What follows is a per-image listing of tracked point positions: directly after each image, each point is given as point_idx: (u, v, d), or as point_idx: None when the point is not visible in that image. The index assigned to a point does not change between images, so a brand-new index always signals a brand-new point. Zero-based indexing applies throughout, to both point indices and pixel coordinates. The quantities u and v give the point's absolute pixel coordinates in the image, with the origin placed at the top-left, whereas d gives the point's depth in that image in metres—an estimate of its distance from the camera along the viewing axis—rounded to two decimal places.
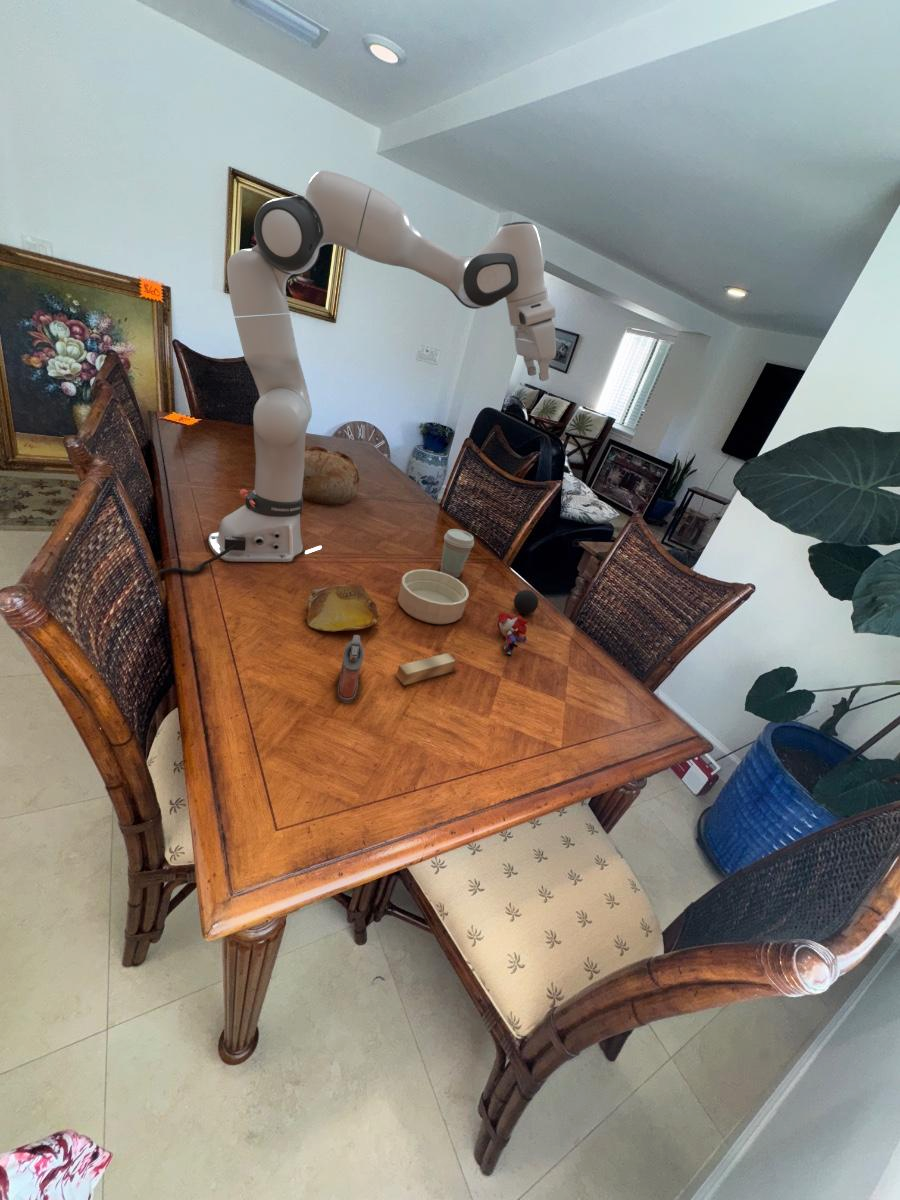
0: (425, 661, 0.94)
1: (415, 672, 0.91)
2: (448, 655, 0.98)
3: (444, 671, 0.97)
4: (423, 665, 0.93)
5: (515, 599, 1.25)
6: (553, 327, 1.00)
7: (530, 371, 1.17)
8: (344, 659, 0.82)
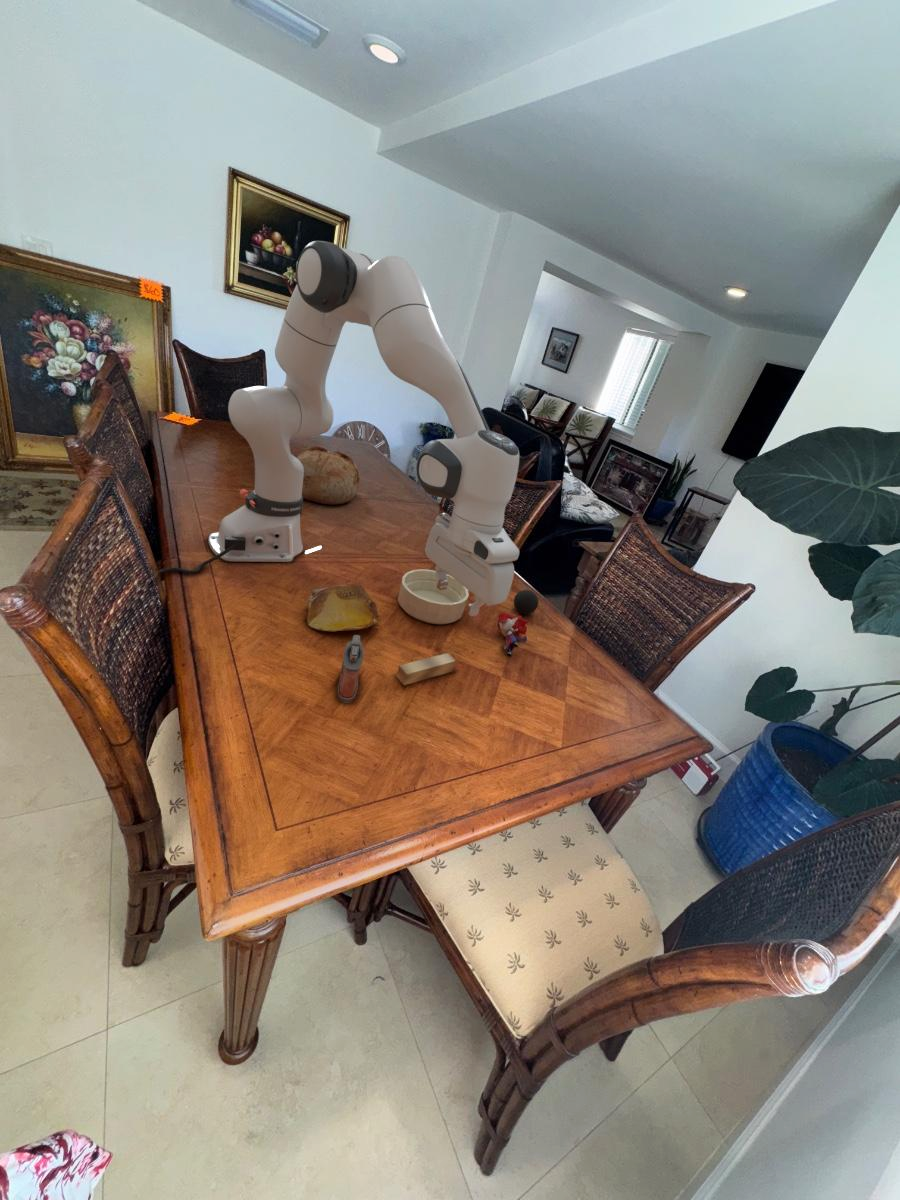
0: (425, 661, 0.94)
1: (415, 672, 0.91)
2: (448, 655, 0.98)
3: (444, 671, 0.97)
4: (423, 665, 0.93)
5: (515, 599, 1.25)
6: (513, 573, 0.79)
7: (442, 585, 0.91)
8: (344, 659, 0.82)
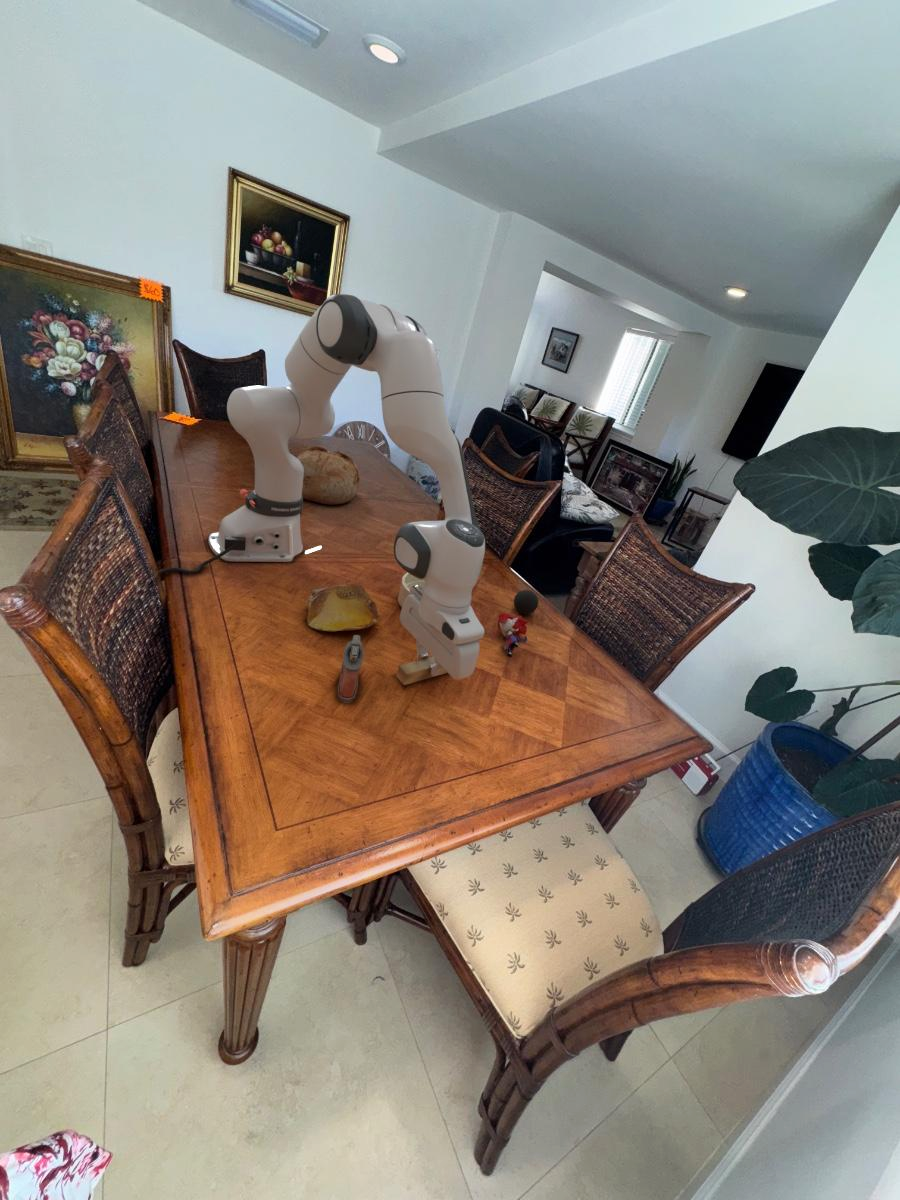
0: (425, 661, 0.94)
1: (415, 672, 0.91)
2: None
3: (444, 671, 0.97)
4: (423, 665, 0.93)
5: (515, 599, 1.25)
6: (478, 650, 0.85)
7: None
8: (344, 659, 0.82)
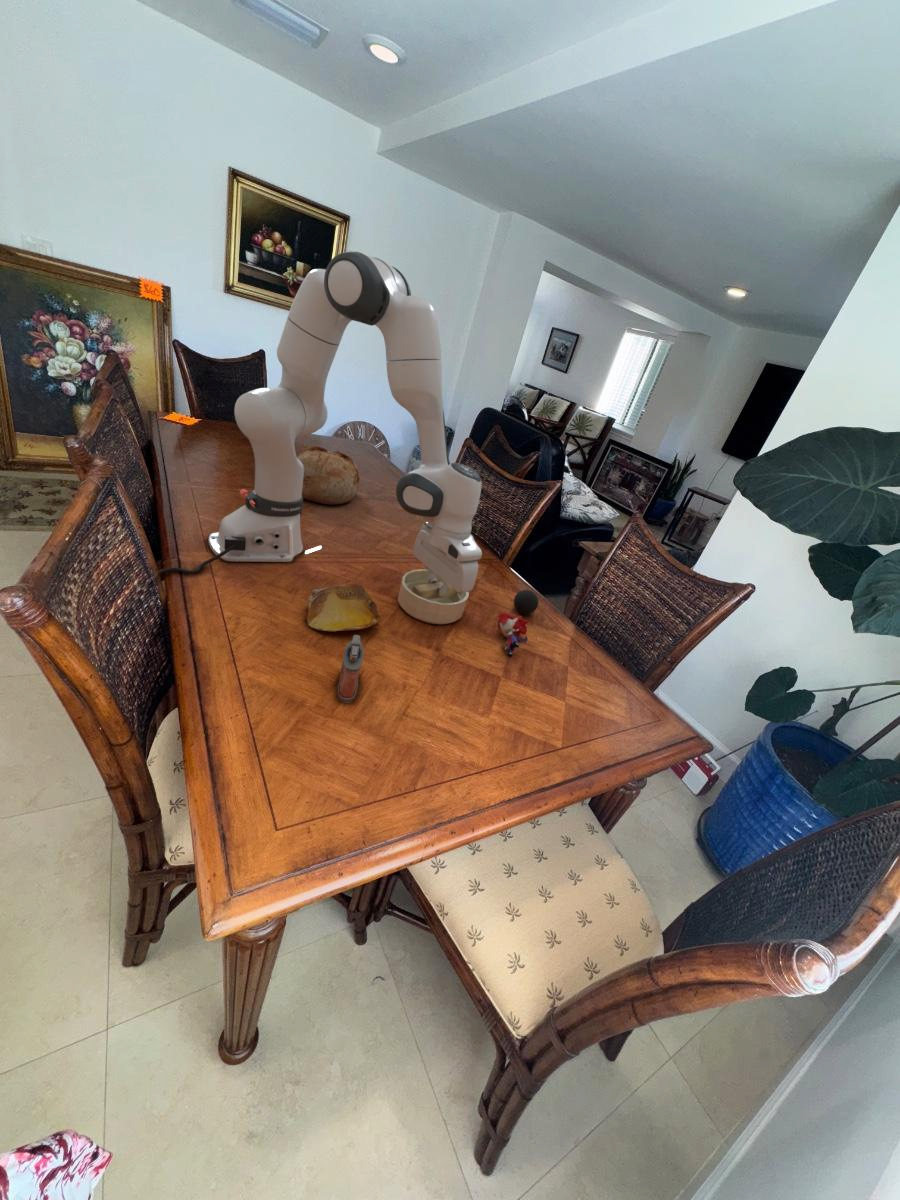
0: (434, 584, 1.16)
1: (426, 591, 1.12)
2: None
3: (450, 594, 1.18)
4: (433, 586, 1.14)
5: (515, 599, 1.25)
6: (477, 568, 1.06)
7: None
8: (344, 659, 0.82)
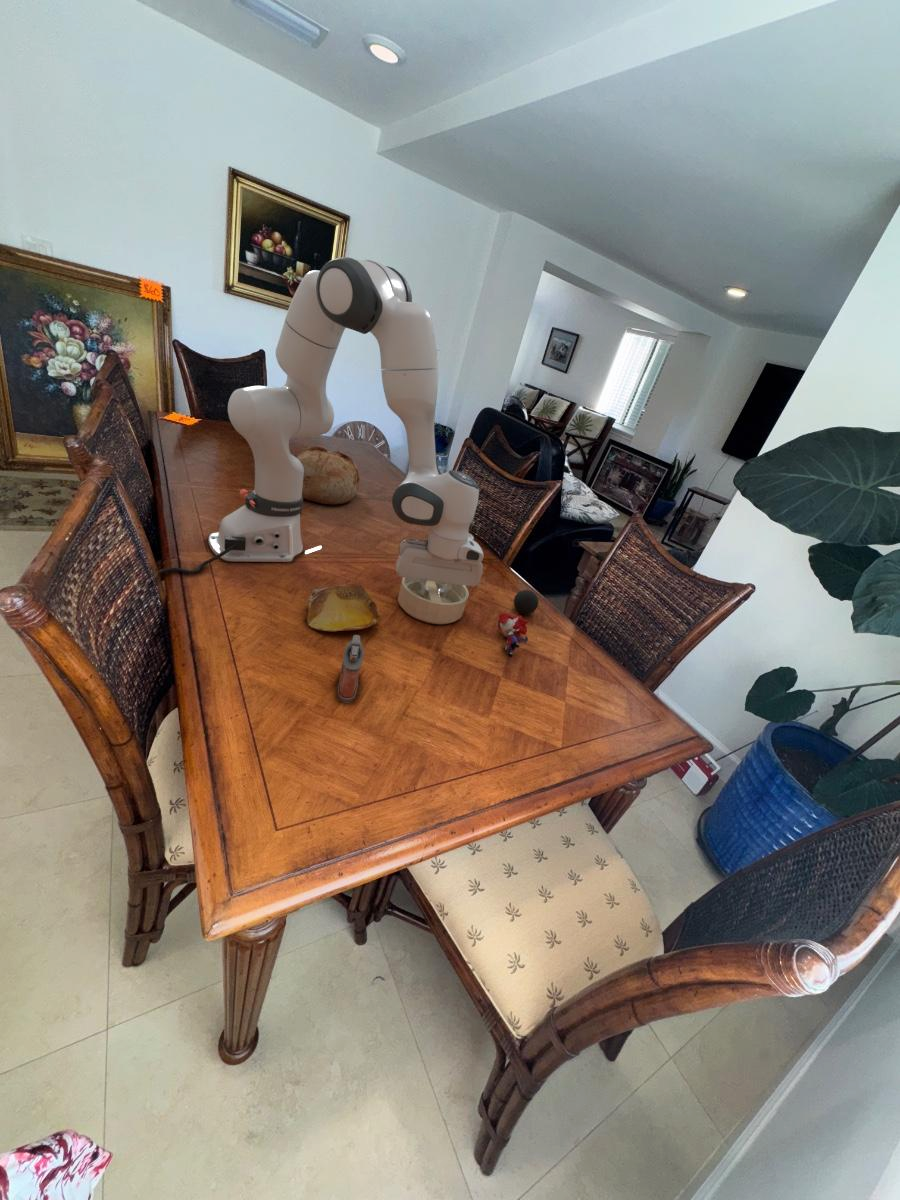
0: (431, 592, 1.15)
1: None
2: None
3: None
4: (435, 594, 1.15)
5: (515, 599, 1.25)
6: None
7: None
8: (344, 659, 0.82)
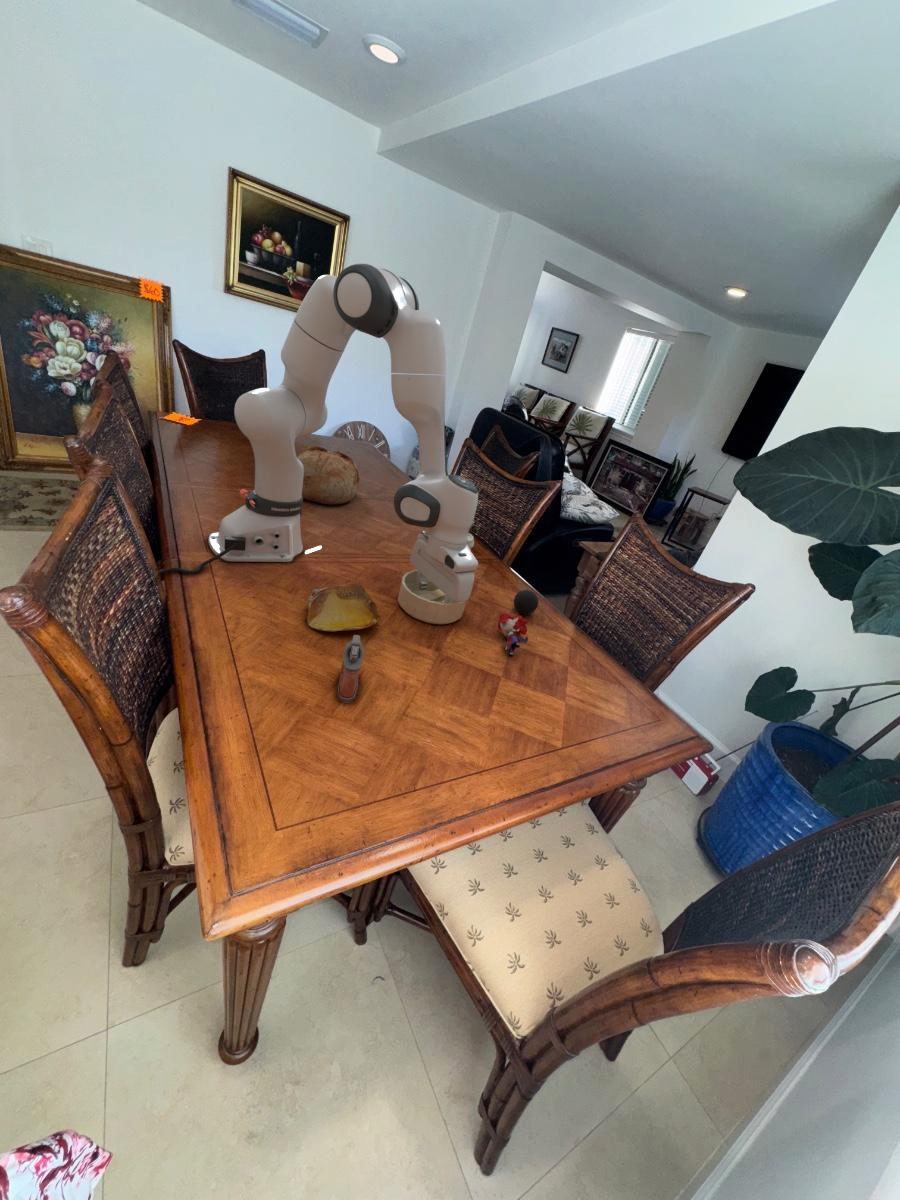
0: (431, 593, 1.17)
1: None
2: None
3: None
4: (431, 596, 1.16)
5: (515, 599, 1.25)
6: (473, 579, 1.08)
7: (422, 586, 1.19)
8: (344, 659, 0.82)
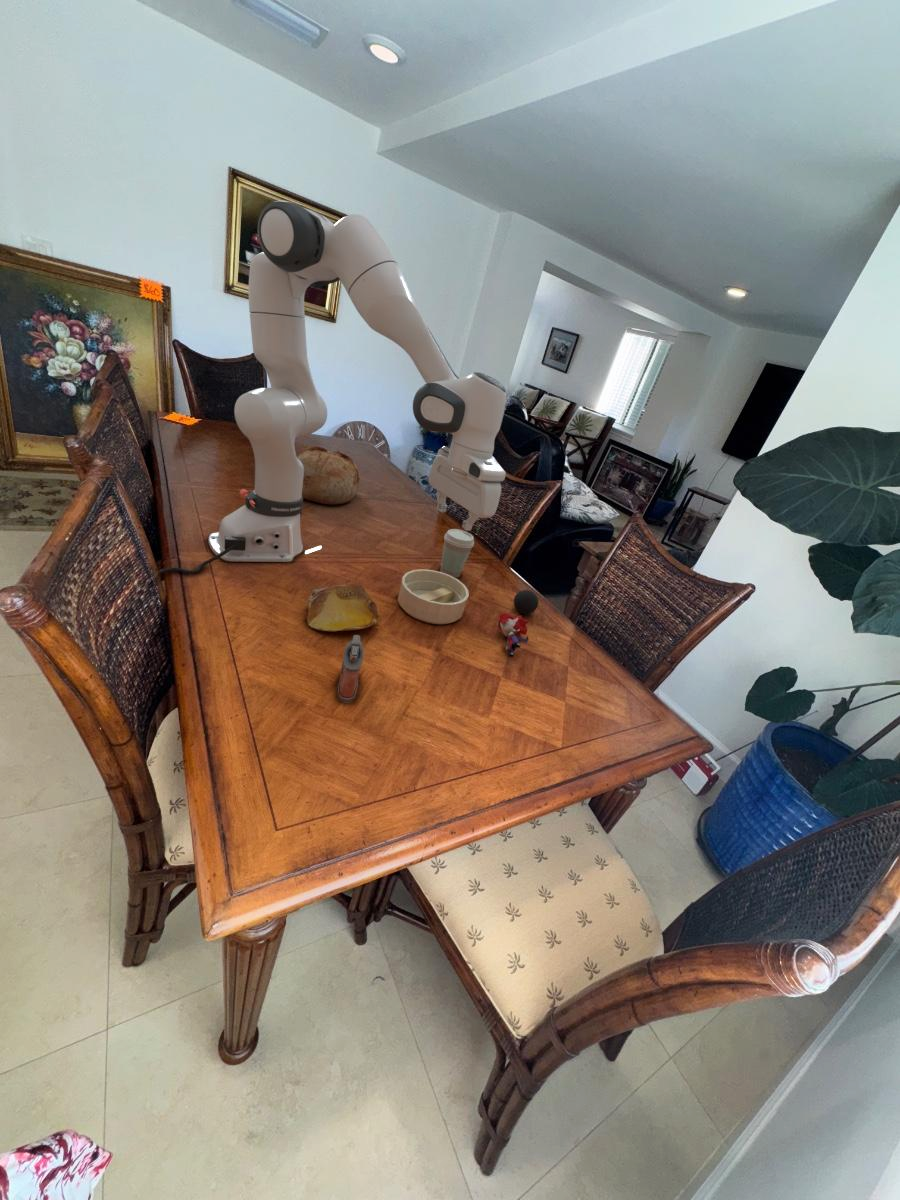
0: (431, 593, 1.17)
1: None
2: (446, 588, 1.21)
3: (445, 601, 1.20)
4: (431, 596, 1.16)
5: (515, 599, 1.25)
6: (500, 491, 0.98)
7: (442, 508, 1.09)
8: (344, 659, 0.82)
